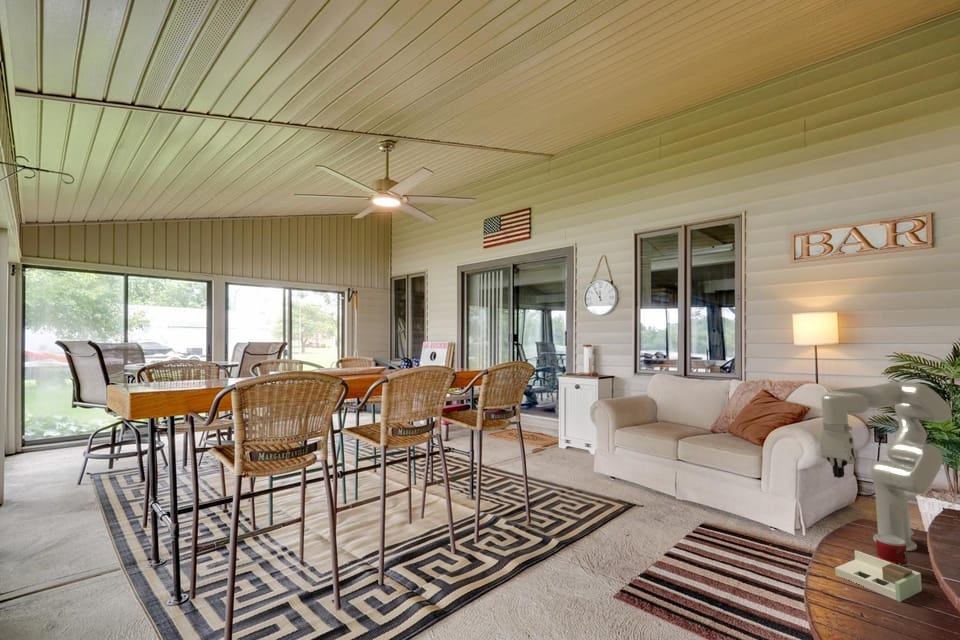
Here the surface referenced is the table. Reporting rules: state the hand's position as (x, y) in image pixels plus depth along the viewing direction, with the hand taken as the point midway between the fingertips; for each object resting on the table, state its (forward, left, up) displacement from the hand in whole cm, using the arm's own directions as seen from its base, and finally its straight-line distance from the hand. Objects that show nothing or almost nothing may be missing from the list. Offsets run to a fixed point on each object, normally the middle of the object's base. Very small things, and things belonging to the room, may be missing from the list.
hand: (838, 476), depth 173 cm
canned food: (-2, +14, -29) cm, 33 cm away
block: (+10, +21, -27) cm, 35 cm away
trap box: (+11, +15, -29) cm, 35 cm away
